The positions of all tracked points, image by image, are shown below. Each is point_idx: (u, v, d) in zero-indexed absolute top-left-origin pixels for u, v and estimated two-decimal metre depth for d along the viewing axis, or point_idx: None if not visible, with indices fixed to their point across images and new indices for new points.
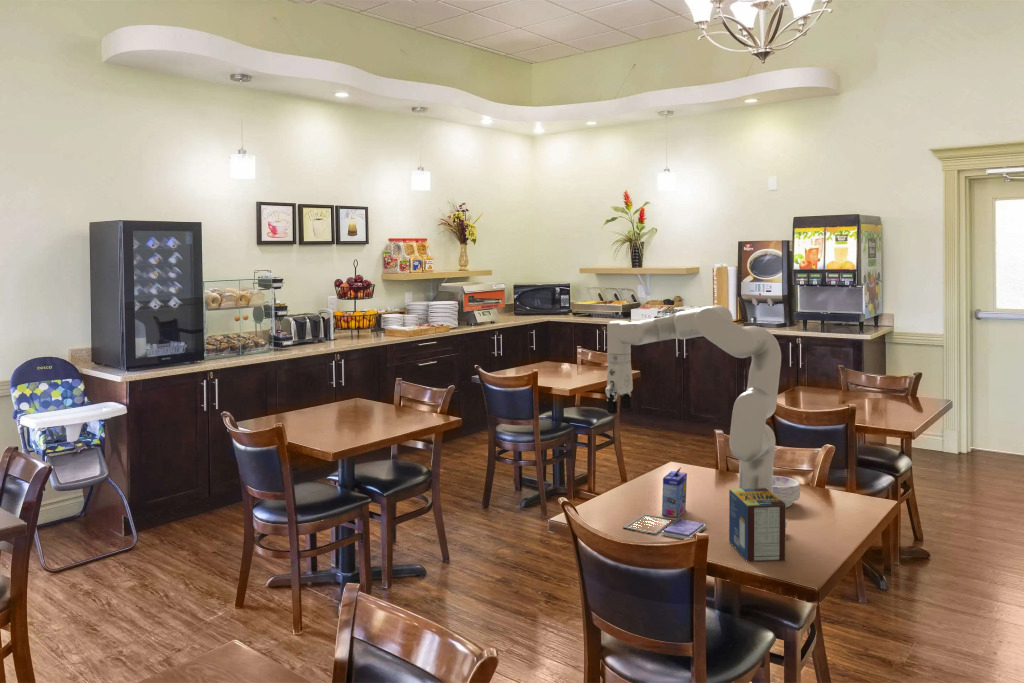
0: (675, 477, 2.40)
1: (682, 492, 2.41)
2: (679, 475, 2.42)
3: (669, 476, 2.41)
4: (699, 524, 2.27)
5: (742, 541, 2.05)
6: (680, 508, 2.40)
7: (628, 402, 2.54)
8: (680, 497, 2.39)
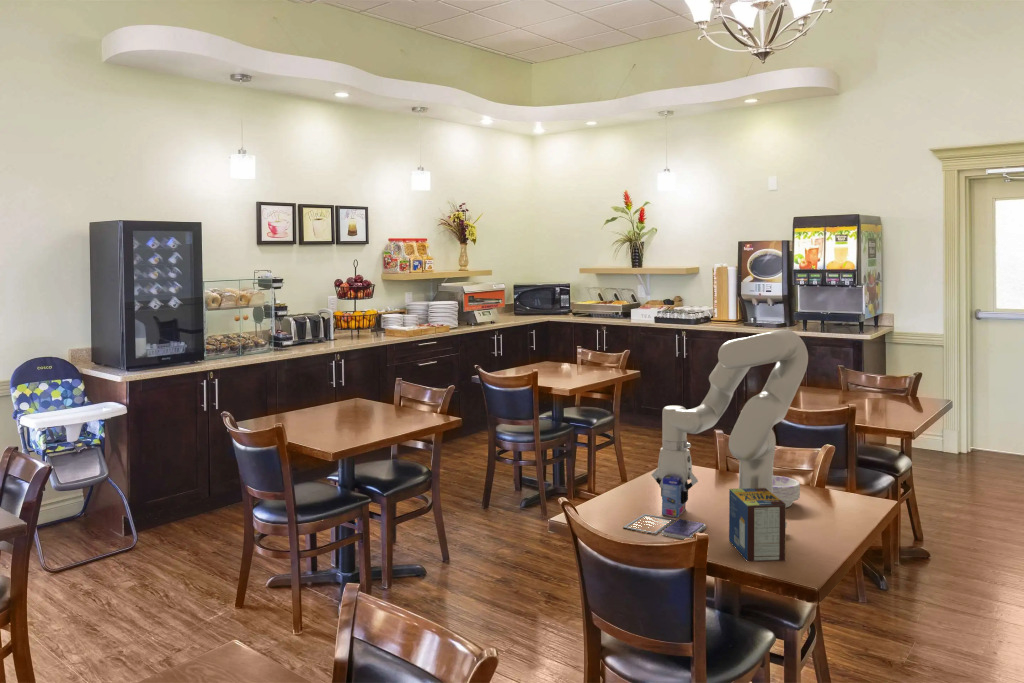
0: (675, 477, 2.40)
1: None
2: None
3: (669, 476, 2.41)
4: (699, 524, 2.27)
5: (742, 541, 2.05)
6: (680, 508, 2.40)
7: None
8: (679, 497, 2.39)
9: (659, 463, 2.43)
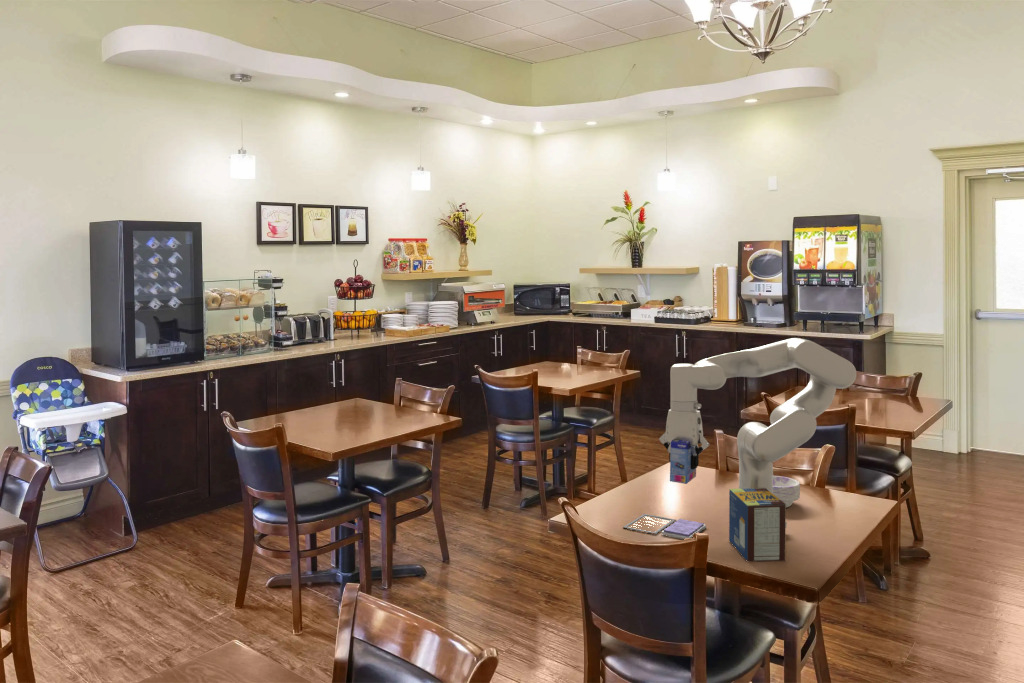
0: (684, 440, 2.21)
1: None
2: None
3: (677, 439, 2.23)
4: (699, 524, 2.27)
5: (742, 541, 2.05)
6: (689, 474, 2.22)
7: None
8: (689, 462, 2.21)
9: (667, 426, 2.25)
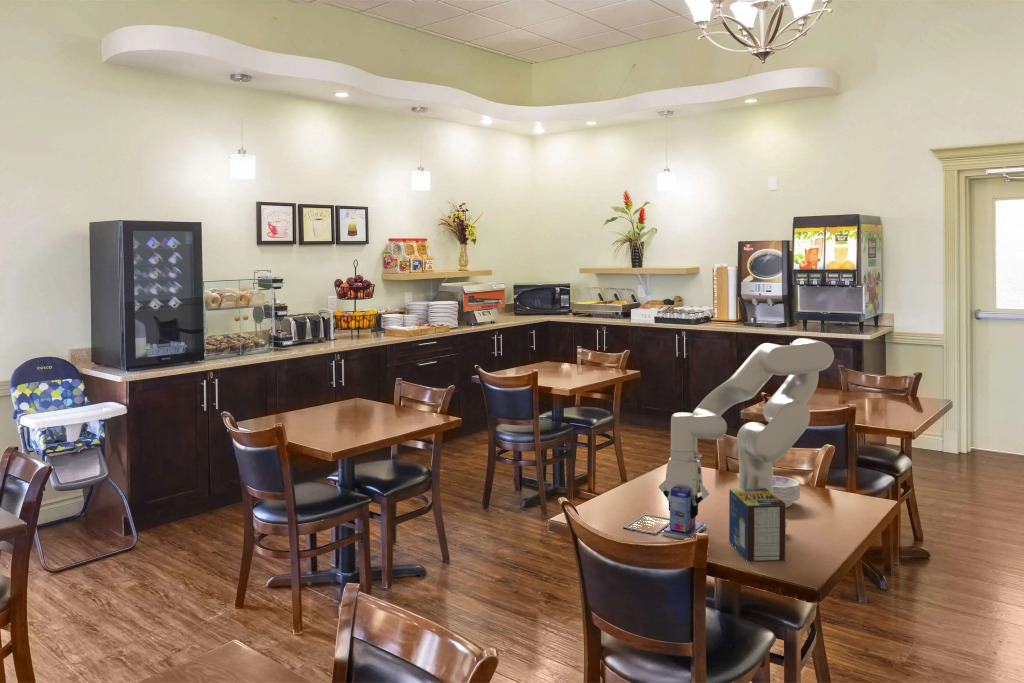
0: (684, 489, 2.22)
1: None
2: None
3: (677, 487, 2.23)
4: (699, 524, 2.27)
5: (742, 541, 2.05)
6: (689, 522, 2.22)
7: None
8: (689, 510, 2.21)
9: (667, 474, 2.25)
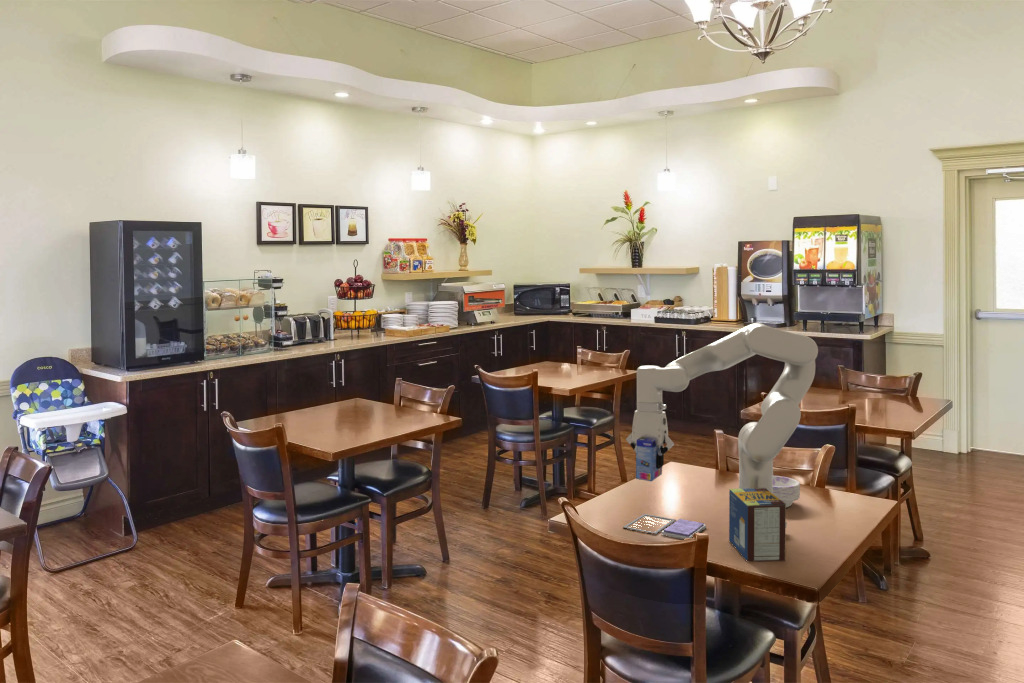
0: (649, 439, 2.27)
1: None
2: None
3: (643, 438, 2.28)
4: (699, 524, 2.27)
5: (742, 541, 2.05)
6: (655, 472, 2.27)
7: None
8: (654, 460, 2.26)
9: (633, 426, 2.30)
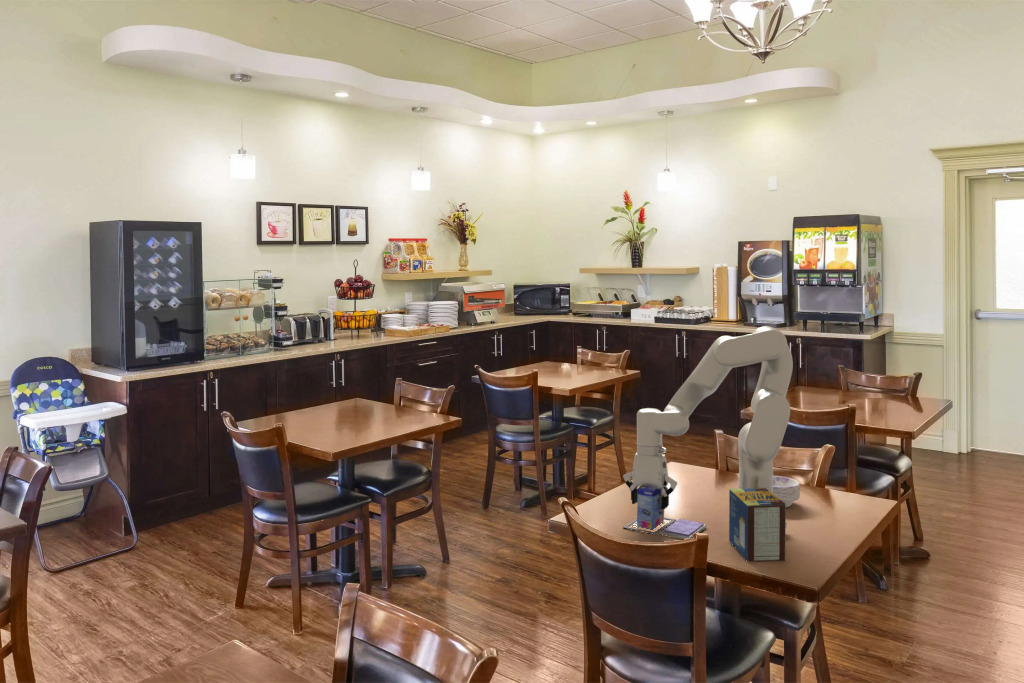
0: (651, 487, 2.28)
1: (658, 503, 2.30)
2: None
3: (645, 486, 2.29)
4: (699, 524, 2.27)
5: (742, 541, 2.05)
6: (656, 520, 2.29)
7: (637, 495, 2.35)
8: (655, 508, 2.28)
9: (633, 469, 2.31)
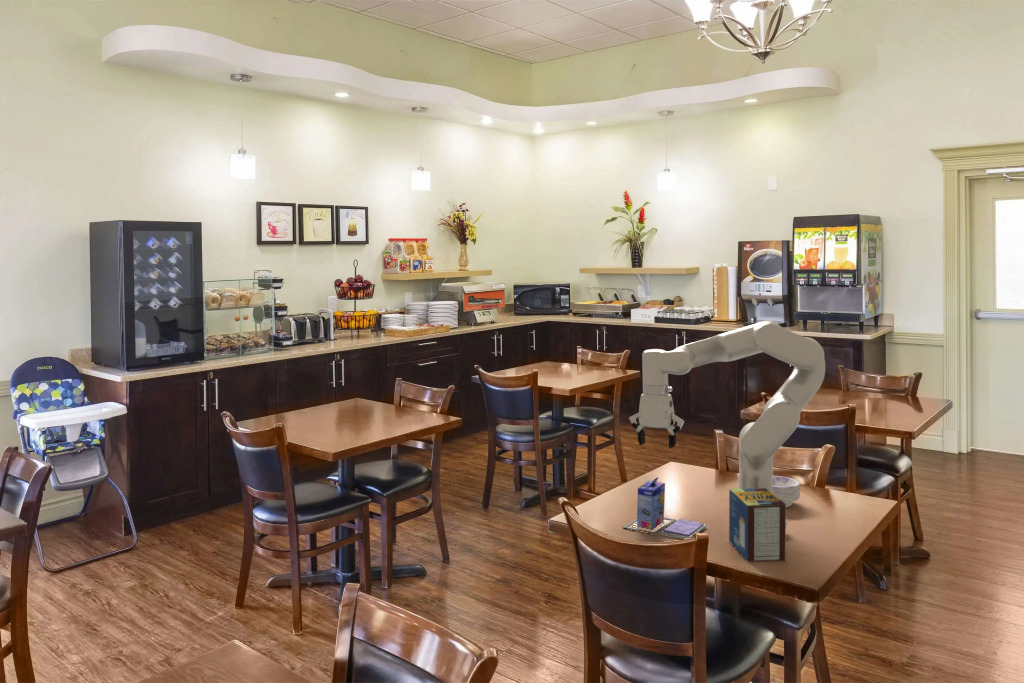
0: (651, 487, 2.28)
1: (658, 503, 2.30)
2: (656, 485, 2.30)
3: (645, 486, 2.29)
4: (699, 524, 2.27)
5: (742, 541, 2.05)
6: (656, 520, 2.29)
7: (644, 436, 2.37)
8: (655, 508, 2.28)
9: (640, 410, 2.33)
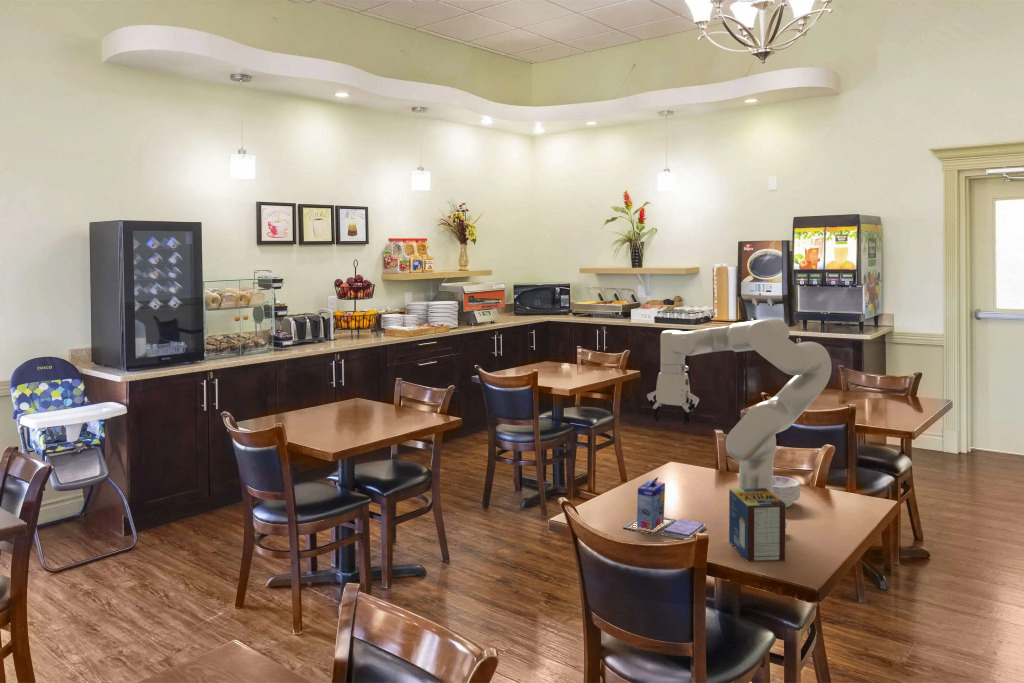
0: (651, 487, 2.28)
1: (658, 503, 2.30)
2: (656, 485, 2.30)
3: (645, 486, 2.29)
4: (699, 524, 2.27)
5: (742, 541, 2.05)
6: (656, 520, 2.29)
7: (661, 413, 2.48)
8: (655, 508, 2.28)
9: (657, 387, 2.44)
